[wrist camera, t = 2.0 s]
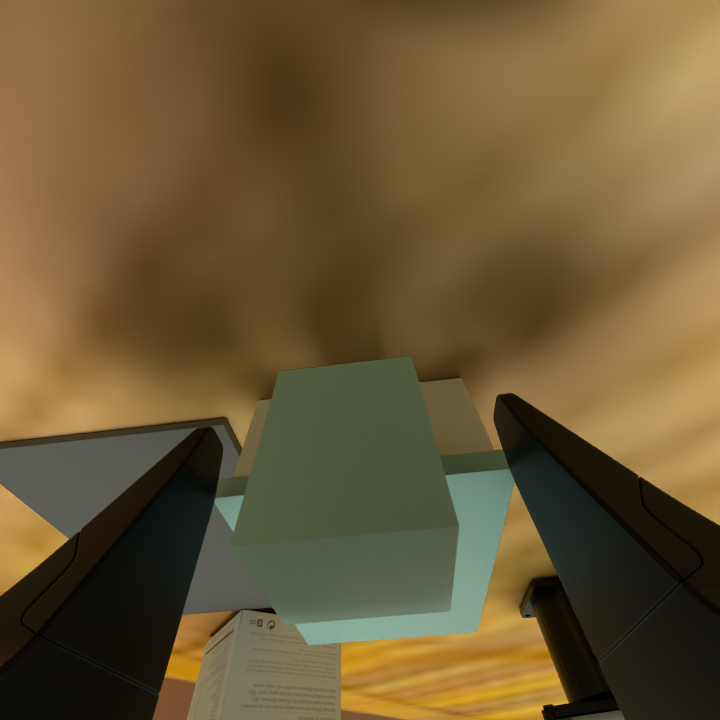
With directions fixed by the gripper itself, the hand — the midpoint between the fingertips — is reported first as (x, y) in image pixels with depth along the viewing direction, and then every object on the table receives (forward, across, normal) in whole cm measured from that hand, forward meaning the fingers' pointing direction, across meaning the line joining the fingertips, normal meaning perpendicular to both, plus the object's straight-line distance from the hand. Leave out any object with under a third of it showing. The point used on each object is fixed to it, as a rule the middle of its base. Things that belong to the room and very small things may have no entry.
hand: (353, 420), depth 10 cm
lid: (0, 0, +7) cm, 7 cm away
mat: (+4, +12, +13) cm, 18 cm away
